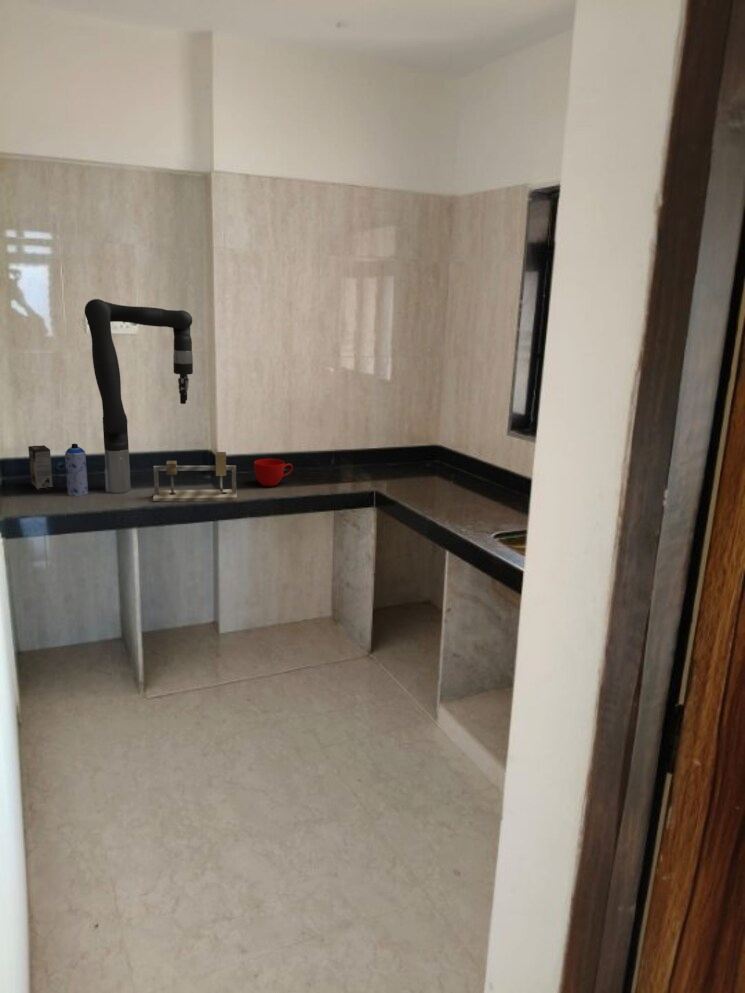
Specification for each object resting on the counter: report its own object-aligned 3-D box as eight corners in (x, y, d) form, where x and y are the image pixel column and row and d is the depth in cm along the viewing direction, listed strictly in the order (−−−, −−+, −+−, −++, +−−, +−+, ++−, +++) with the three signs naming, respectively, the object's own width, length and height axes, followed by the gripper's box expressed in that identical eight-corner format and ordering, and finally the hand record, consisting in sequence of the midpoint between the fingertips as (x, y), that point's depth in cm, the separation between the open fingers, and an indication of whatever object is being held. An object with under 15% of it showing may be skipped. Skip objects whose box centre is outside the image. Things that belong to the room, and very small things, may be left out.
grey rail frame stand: (153, 502, 290) (151, 465, 286) (155, 493, 301) (154, 458, 297) (236, 500, 296) (236, 465, 292) (236, 492, 307) (236, 458, 303)
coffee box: (31, 484, 307) (27, 446, 303) (47, 482, 311) (44, 444, 307) (36, 489, 300) (33, 450, 296) (53, 487, 304) (50, 448, 300)
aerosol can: (67, 491, 299) (63, 442, 294) (88, 490, 302) (85, 441, 297) (67, 496, 292) (63, 446, 287) (88, 495, 295) (85, 445, 290)
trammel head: (216, 493, 297) (215, 454, 293) (216, 489, 302) (215, 451, 297) (226, 493, 298) (225, 454, 293) (226, 489, 302) (225, 451, 298)
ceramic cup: (296, 487, 320) (297, 464, 317) (257, 489, 314) (257, 466, 311) (288, 479, 331) (288, 457, 329) (251, 481, 325) (250, 459, 322)
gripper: (174, 359, 305) (175, 399, 310) (172, 363, 292) (172, 404, 296) (193, 360, 307) (194, 399, 311) (191, 363, 293) (192, 405, 297)
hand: (183, 402), depth 303 cm, fingers open, 8 cm apart
